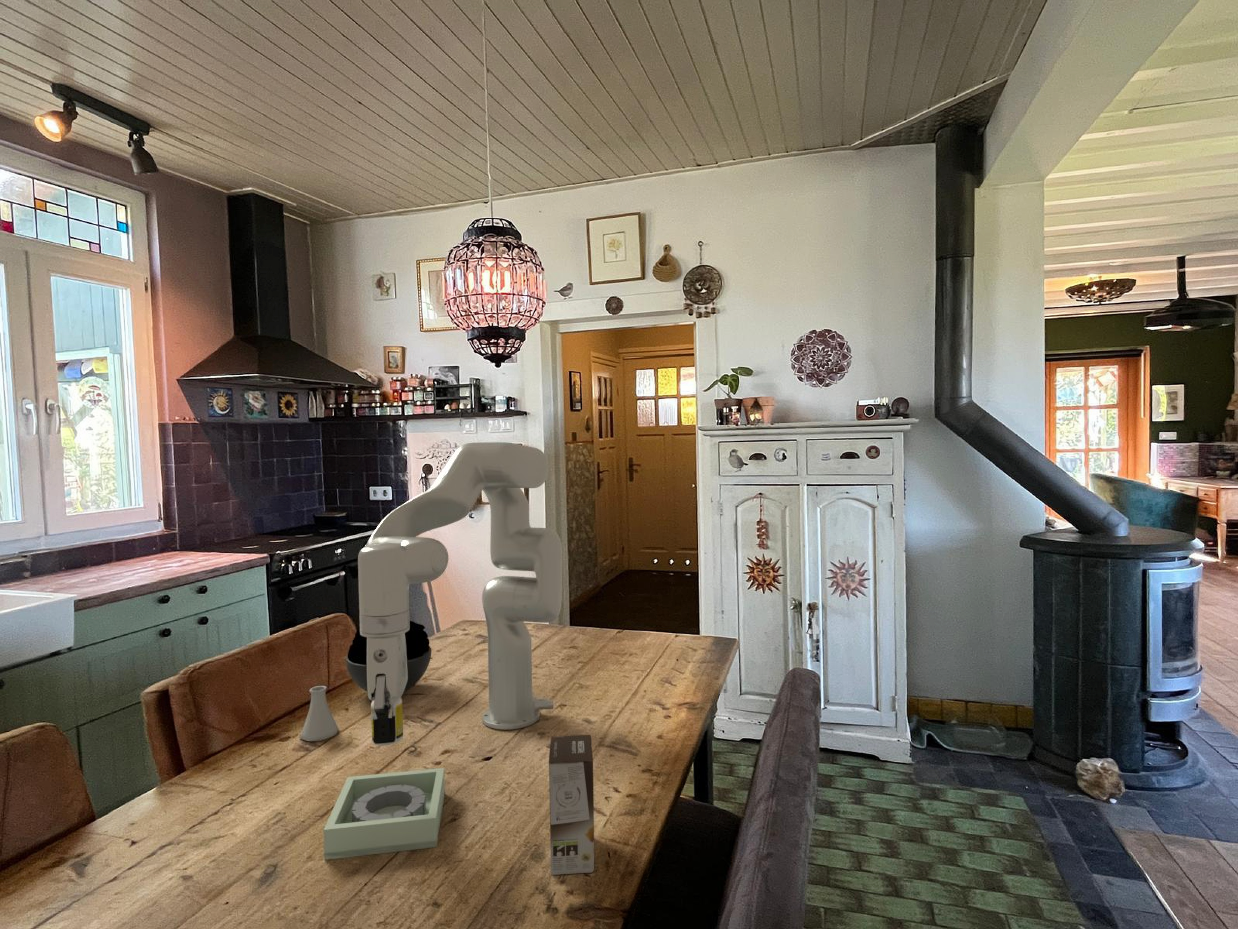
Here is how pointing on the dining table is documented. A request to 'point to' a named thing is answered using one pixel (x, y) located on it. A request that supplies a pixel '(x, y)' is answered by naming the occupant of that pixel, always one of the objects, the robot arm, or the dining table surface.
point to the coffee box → (571, 804)
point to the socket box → (386, 814)
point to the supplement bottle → (398, 719)
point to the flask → (319, 717)
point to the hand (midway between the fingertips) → (387, 733)
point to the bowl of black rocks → (415, 652)
